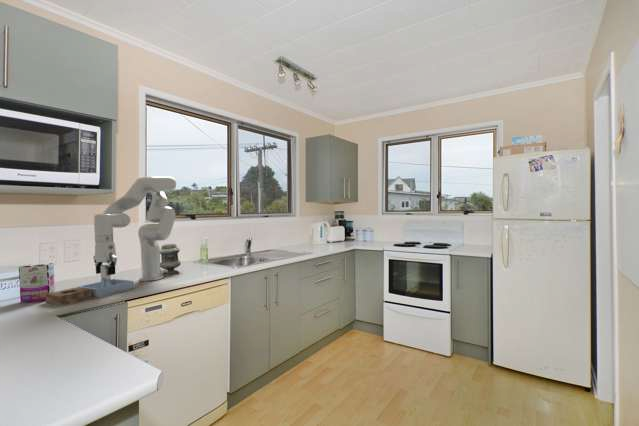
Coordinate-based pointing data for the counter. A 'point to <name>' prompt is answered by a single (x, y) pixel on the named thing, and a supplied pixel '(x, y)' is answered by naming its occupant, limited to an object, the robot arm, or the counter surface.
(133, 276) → the counter surface
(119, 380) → the counter surface
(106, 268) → the pin
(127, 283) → the tray
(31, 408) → the counter surface
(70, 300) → the socket block
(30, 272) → the candy bar box
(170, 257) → the stone urn
